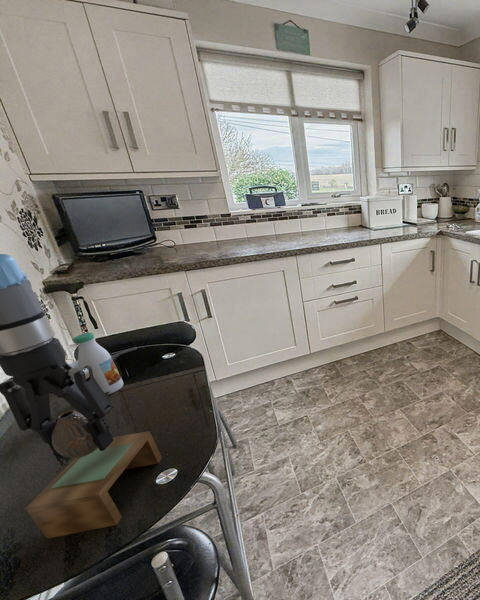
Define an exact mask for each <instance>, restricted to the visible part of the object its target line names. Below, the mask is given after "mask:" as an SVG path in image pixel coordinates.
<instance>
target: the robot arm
mask: <svg viewBox="0 0 480 600" xmlns="http://www.w3.org/2000/svg"><path fill="white" fill-rule="evenodd" d="M55 335H56V333H55V331H54V329H53V327H52V325H51V323H50V321H49V319H48V317H47V315H46V314H45V312H44V309H43V307H42V305H41V304H40V302H39V299H38V297H37V296H36V294H35V292H34V289H33V287H32V285H31V284H30V281H29V279H28V277H27V275H26V272H23V269H22V268H21V266H20V265H19V264H18V262H17V260H16V259H15V258H14V257H13V255H9V254H5V253H0V368H1V370H2V371H3V373H4V374H5V375H6V376H8V377H9V378H8V379H6V380H5V381H3V382H1V383H0V394H1V395H2V396H3V397H4V399H5V401H6V402H7V405H8V407H9V409H10V411H11V413H12V415H13V417H14V420H15V422H16V424H17V426H18V428H19V429H20V430H21V431H23V432H25V431H26V432H27V431H28V430H32V431H33V432H36V433H37V434H38V435H39V437H40V438H41V440H42V442H43V443H44V444H47V445H48V446H49V448H50V450H51V452H52V453H53V455H54V456H55V457H56V459H57V460H58V459H62V458H64V456H62V455H60V454H59V453H58V452H57V451H56V450H55V449H54V447H53V445H52V433H53V430H54V428H55V426H56V424H57V420H55V417H52V413H51V412H52V411H51V404H50V403H51V402H50V394H54V396H55V397H57V398H61V399H64V401H65V402H67V403H68V404H69V405H70V406H71V407H72V408H73V409H75V411H76V412H79V413H81V414H82V415H83V416H84V417H85V418H86V419H88V420H89V421H88V422H87V423H86V424H85V425H86V426H87V428H88V430H89V432H90V434H91V435H92V437H93V439H94V441H95V443H96V444H97V446H98V448H99V450H100V451H104V450H105V449H106V448H107V447H108V446H109V445H110V444H111V443H112V442H113V440H114V439H113V435H112V434H111V432H110V429H111V425H110V423H109V421H108V420H107V417H106V416H107V414H109V413H110V412H111V411H112V410H113V409H114V405H113V404H112V402H111V400H110V399H109V398H108V395H106V393H104V392H103V390H102V389H101V387H100V386H99V384H98V383H97V381H96V380H95V378H94V377H93V372H92V368H91V367H90V366H85V367H83V368H72V367H71V366H70V365H69V364H70V363H68V362H67V361H66V357H67V353H66V350H65V349H64V347H63V345H62V343H61V341H60V340H59V338H57V337H55ZM72 377H73V378H72ZM54 420H55V421H54Z"/></svg>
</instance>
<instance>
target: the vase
mask: <svg viewBox="0 0 480 600" xmlns="http://www.w3.org/2000/svg"><path fill="white" fill-rule="evenodd" d="M56 421H57V424H56V426H55V428H54V430H53V433H52V445H53V447H54V449H55V450H56V451H57V452H58V453H59V454H60V455H62V456H63V458H66V459H75V458H81V457H84V456H86V455H89V454H90V453H92V452H94V451H95V450H96V449H97V448H98V446H97V444H96V443H95V441H94V439H93V437H92V435H91V434H90V432H89V430H88V428H87V426H86V425H85V424H86V423H87V422H88V421H89V420H88V419H86V418H85V417H84V416H83V415H82V414H81V413H80V412H78V411H77V410H76V409H75V410H73V409H70V410H67V411H64V412H61V414H59V415H57V419H56Z"/></svg>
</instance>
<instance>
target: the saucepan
mask: <svg viewBox="0 0 480 600" xmlns="http://www.w3.org/2000/svg"><path fill="white" fill-rule="evenodd" d="M133 351H137V347H136V346H134V347H131V348H128V349H126V350H122V351H119V352H117V353H115V354H113V355H112V354H110V356H111V358H112V360H113V361H115V360H116V359H117V358H119V356H122V355H124V354H127V353H131V352H133ZM68 364H69V365H70V366H71V367H72V368H80V366H79V364H78V359H77V360H75V361H73V362H71V363H68ZM72 378H73V377H72Z"/></svg>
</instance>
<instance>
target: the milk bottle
mask: <svg viewBox="0 0 480 600" xmlns="http://www.w3.org/2000/svg"><path fill="white" fill-rule="evenodd" d="M73 342H74V344H75V346H77V349H78V355H77V360H78V364H79V366H80V368H83V367H85V366H90V367H91V368H92V372H93V377H94V378H95V380H96V381H97V383H98V384H99V386H100V387H101V389H102V390H103V392H104V393H105V395H106V396H109V395H110V394H113V393H115V392H118V391H119V390H120V389H122V388H123V386H124V381H123V379H122V376H121V374H120V373H119V370H118V368H117V366H116V364H115V362H114V360H112V358H111V354H110V353H109V351H108V350H107V349H105V348H104V347H103V346H101V345H100V344H99V343H98V342H97V341H96V338H95V335H94V333H93V332H86V333H82V334H79V335H76V336H74V337H73Z"/></svg>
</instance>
